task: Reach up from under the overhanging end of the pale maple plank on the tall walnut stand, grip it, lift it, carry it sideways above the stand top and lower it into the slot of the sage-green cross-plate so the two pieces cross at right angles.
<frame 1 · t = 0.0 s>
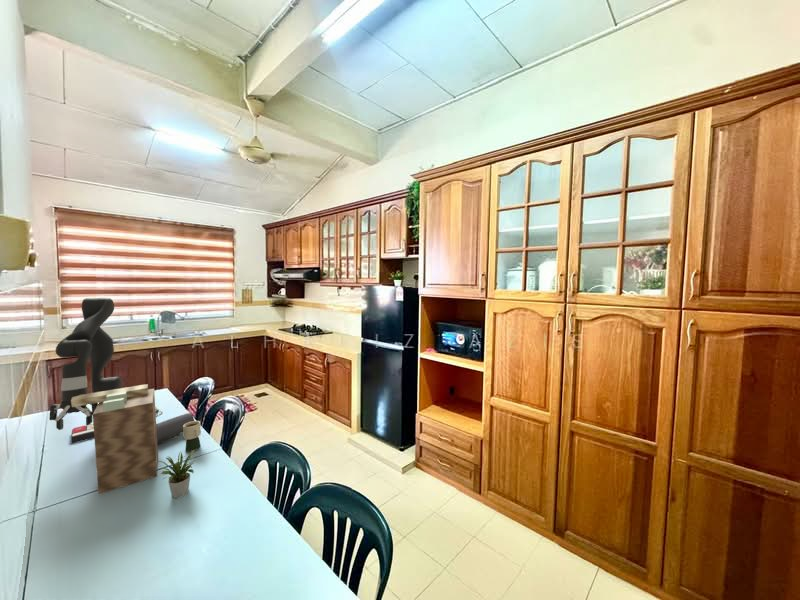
hand: (74, 427, 129), 22 cm above the table, tool pointing down, fingers open, 8 cm apart
bluetooth speaker: (168, 439, 163), on the table
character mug: (193, 450, 152), on the table
walnut stand: (131, 471, 135), on the table
house plant: (176, 495, 119), on the table
maple plank: (112, 397, 134), point 32 cm above the table, tilted 16°, touching hand, walnut stand
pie: (133, 419, 189), on the table
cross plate: (126, 399, 133), resting on walnut stand
red and black block: (86, 435, 169), on the table
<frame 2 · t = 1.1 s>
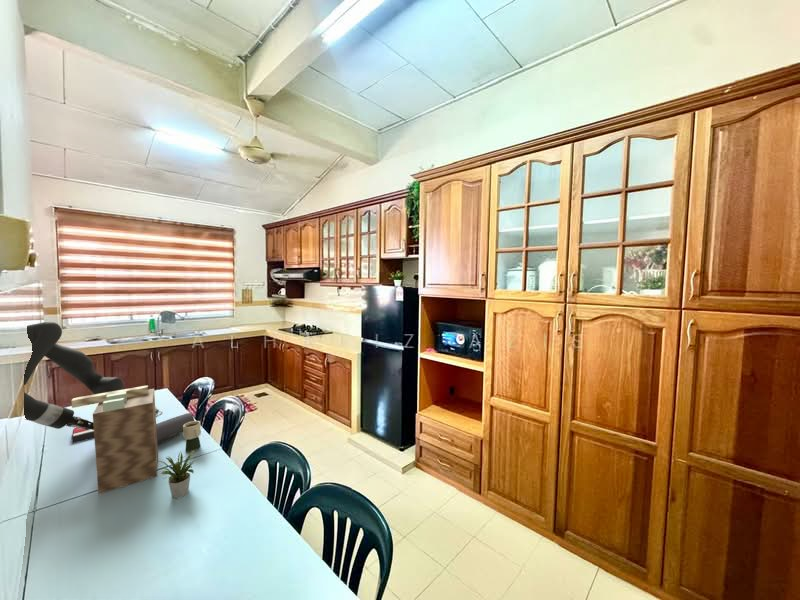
hand: (95, 428, 136), 19 cm above the table, tool tilted 50°, fingers open, 8 cm apart
maple plank: (112, 399, 134), point 32 cm above the table, touching walnut stand
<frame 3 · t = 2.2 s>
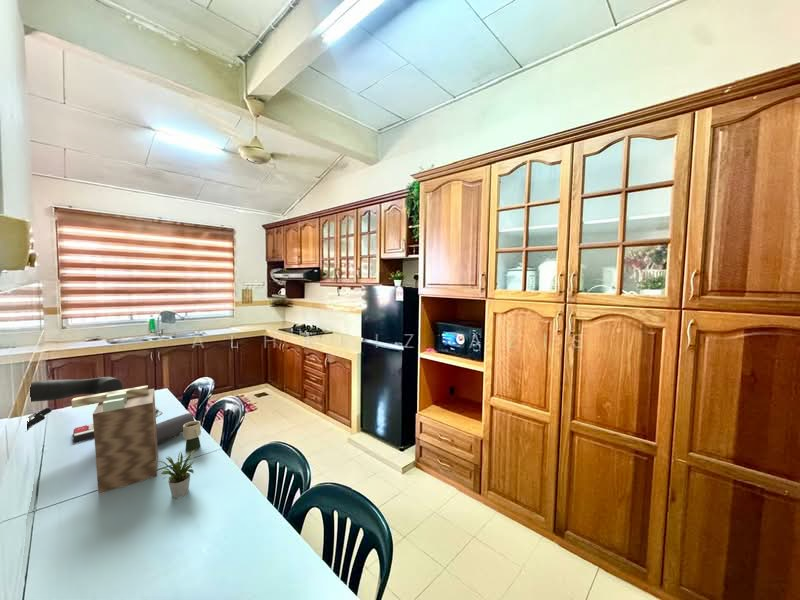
hand: (46, 412, 123), 31 cm above the table, tool pointing upward, fingers open, 8 cm apart
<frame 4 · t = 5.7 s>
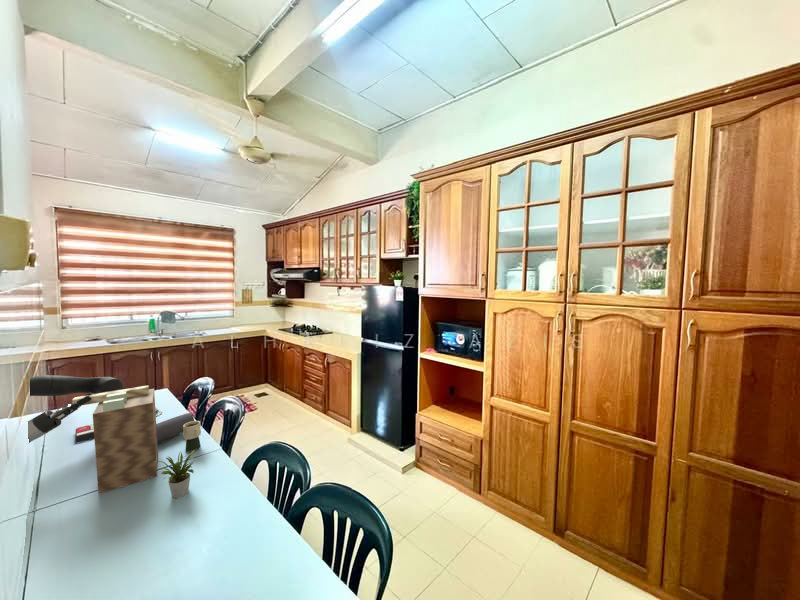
hand: (90, 395, 130), 35 cm above the table, tool pointing upward, fingers closed on maple plank, 3 cm apart
maple plank: (113, 398, 134), point 32 cm above the table, touching gripper, walnut stand
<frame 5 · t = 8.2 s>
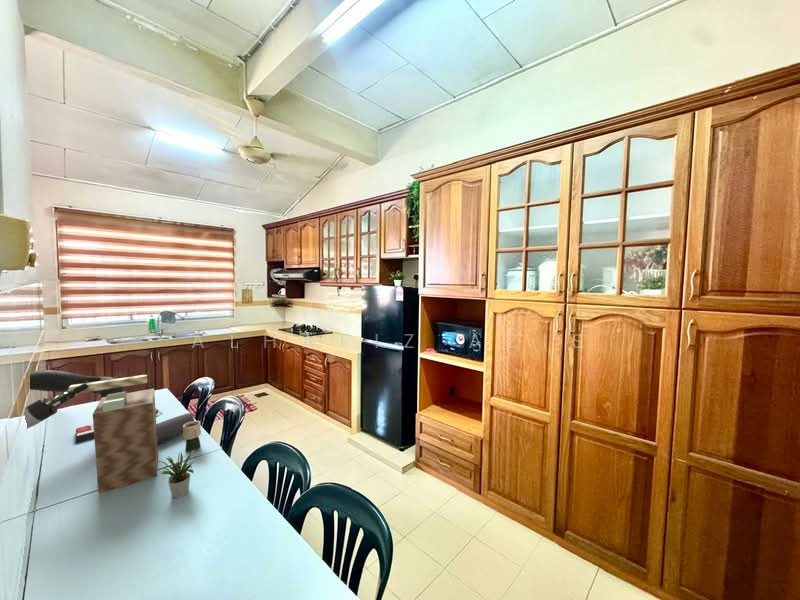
hand: (87, 383, 127), 41 cm above the table, tool pointing upward, fingers closed on maple plank, 3 cm apart
maple plank: (110, 387, 131), point 38 cm above the table, touching gripper
when the fingers open (36 cm above the table, at t = 10.7 s): maple plank drops 1 cm, resting on walnut stand.
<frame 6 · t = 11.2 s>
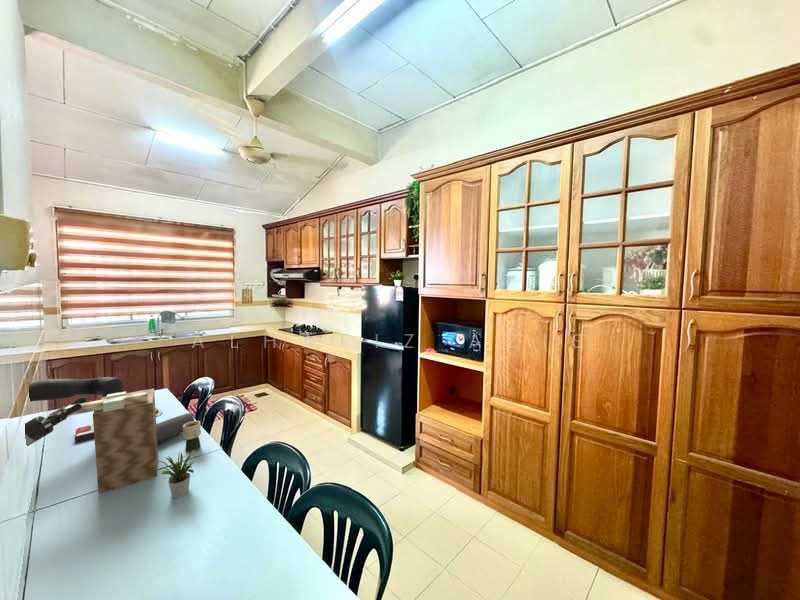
hand: (82, 401, 121), 36 cm above the table, tool pointing upward, fingers open, 8 cm apart
maple plank: (109, 406, 126), point 32 cm above the table, touching walnut stand
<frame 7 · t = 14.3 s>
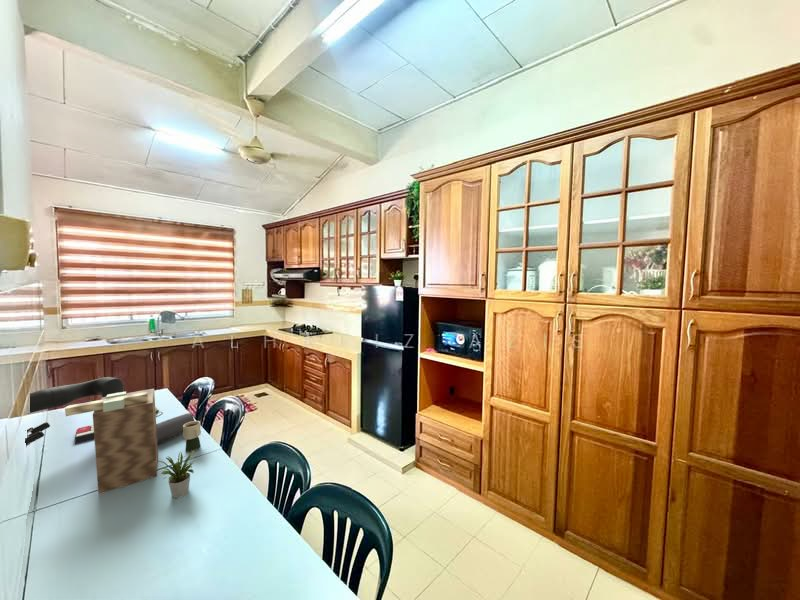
hand: (45, 428, 115), 28 cm above the table, tool pointing upward, fingers open, 8 cm apart
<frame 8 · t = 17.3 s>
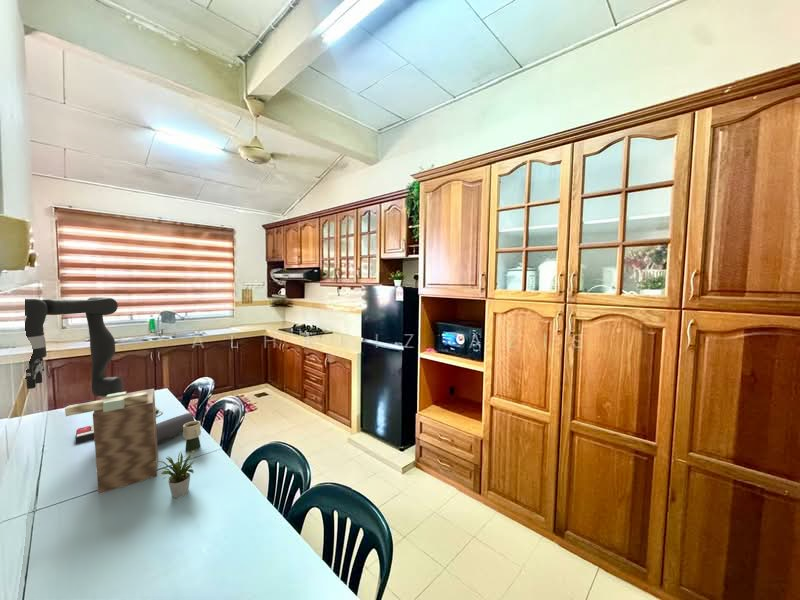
hand: (35, 385, 128), 40 cm above the table, tool pointing down, fingers open, 8 cm apart
at the end: maple plank 0.2 cm from the target spot on the walnut stand, point 32.0 cm above the walnut stand's base; maple plank tilted 0°; the gripper is holding nothing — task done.
